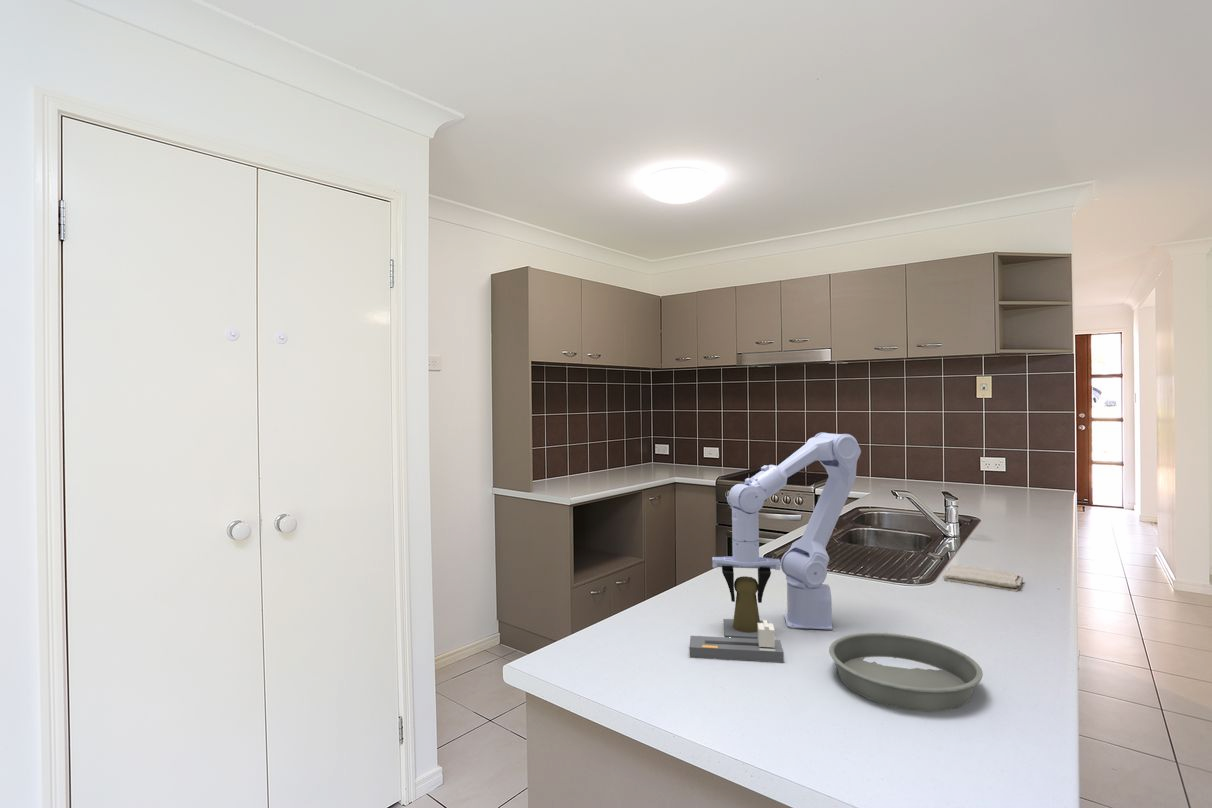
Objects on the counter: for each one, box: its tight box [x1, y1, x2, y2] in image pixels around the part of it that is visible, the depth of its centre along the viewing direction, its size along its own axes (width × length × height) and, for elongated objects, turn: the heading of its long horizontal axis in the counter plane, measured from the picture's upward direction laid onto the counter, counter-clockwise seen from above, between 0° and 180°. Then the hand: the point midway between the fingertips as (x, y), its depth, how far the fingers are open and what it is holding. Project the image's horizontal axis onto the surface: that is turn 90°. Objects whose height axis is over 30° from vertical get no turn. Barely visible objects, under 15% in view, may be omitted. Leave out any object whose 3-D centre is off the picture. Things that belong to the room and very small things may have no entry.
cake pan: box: [828, 632, 984, 712], centre depth 109 cm, size 25×25×4 cm
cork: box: [733, 575, 761, 633], centre depth 134 cm, size 6×6×11 cm
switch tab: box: [757, 619, 776, 648], centre depth 121 cm, size 3×4×4 cm
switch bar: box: [689, 635, 785, 663], centre depth 122 cm, size 18×6×2 cm, turn 80°
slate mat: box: [722, 618, 769, 639], centre depth 134 cm, size 10×10×1 cm
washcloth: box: [943, 564, 1024, 593], centre depth 167 cm, size 12×18×3 cm, turn 52°
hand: (746, 600), depth 134 cm, fingers closed on cork, 5 cm apart
